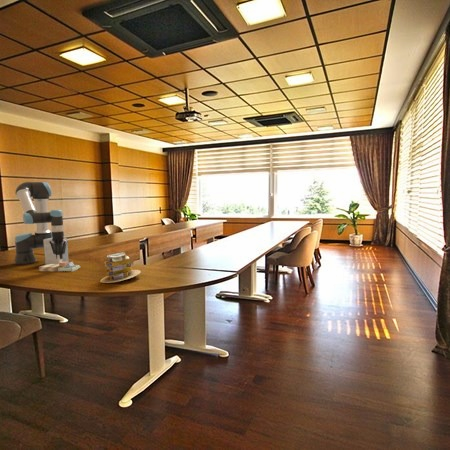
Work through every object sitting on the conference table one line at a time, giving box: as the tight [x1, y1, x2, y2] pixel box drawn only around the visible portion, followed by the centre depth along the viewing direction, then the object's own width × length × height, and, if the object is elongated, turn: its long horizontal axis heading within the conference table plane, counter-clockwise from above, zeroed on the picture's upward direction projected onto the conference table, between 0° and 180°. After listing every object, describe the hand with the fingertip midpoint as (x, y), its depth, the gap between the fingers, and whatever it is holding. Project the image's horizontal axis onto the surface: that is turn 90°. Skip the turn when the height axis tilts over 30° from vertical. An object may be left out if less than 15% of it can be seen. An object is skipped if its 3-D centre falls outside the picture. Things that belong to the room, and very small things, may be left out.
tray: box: [57, 264, 81, 273], centre depth 222 cm, size 11×10×2 cm
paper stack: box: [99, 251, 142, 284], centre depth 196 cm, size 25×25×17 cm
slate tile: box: [64, 261, 75, 268], centre depth 222 cm, size 4×4×2 cm
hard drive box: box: [43, 237, 70, 265], centre depth 242 cm, size 16×8×20 cm, turn 84°
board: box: [38, 264, 62, 272], centre depth 223 cm, size 14×10×3 cm
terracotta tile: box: [59, 261, 70, 266], centre depth 222 cm, size 4×4×2 cm
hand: (59, 263), depth 222 cm, fingers closed
